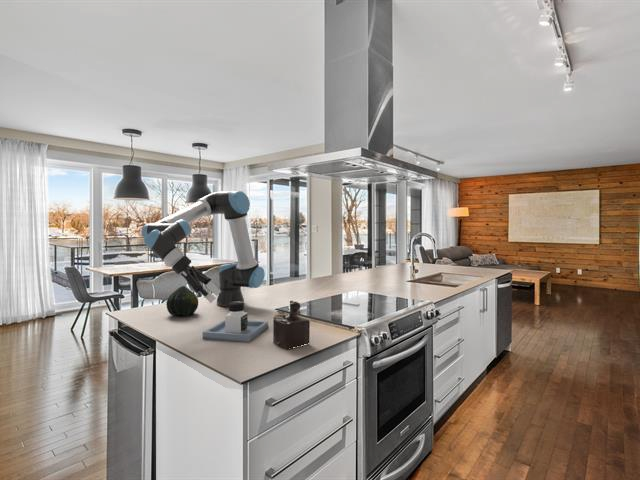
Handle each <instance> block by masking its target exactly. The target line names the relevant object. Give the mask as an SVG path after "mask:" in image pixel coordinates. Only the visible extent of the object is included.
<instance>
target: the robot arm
mask: <svg viewBox="0 0 640 480" xmlns="http://www.w3.org/2000/svg"><path fill="white" fill-rule="evenodd" d="M250 202H251V201H250V199H249V197H248V195H247V194H246V193H245V192H243V191H241V190H224V191H223V190H222V191H221V190H220V191H215V192H212V193H209V194H208V195H205V196H203V197H201V198H198V199H197V200H196V201H195V203H194V204H191V205H190V206H187V207H185V208H184V209H183V208H182V209H181V210H179V211H177V212H175V213H173V214H171V215H169V216H167V217H164V218H163V219H160V220H159V221H155V222H153V223H152V222H151V223H146V224H144V225H143V226H142V228H141V232H140V233H141V236H142V238H143V243H144V244H145V246H146V247H147V248H148V249H149V250H150V251H151V252H152V253H154V254H155V255H156V256H157V257H158V258H160V259H161V260H162V261H163V262H164V265H167V266H168V267H170V268H171V270H173V272H175V274H177V275H181V276H182V277H183V278H184V280H185V281H186V282H187V283H188V284H189V285H190V287H191V288H192V290H194V292H195V294H198V293H199V294H200V295H201V296H203V297H204V298H205V299H206V300H207V301H208V302H209V303H210V304H212V303H213V302H214V301H215V300H216V306H218V307H223V308H227V307H228V308H229V304H230V303H231V302H242V303H244V304H245V298H244V295H243V293H242V288H250V289H256V288H259V287H260V286H261V285H263V283H264V281H265V274H266V273H265V270H264V268H263V267H262V266H259V262H258V260H256V259H255V258H254V251H253V248H252V243H251V238H250V233H249V229H248V225H247V221H246V218H247V216H248V212H249V210H250V207H251V203H250ZM218 214H219V215H223V216H224V219H225V221H227V222H228V224H229V228H230V232H231V237H232V240H233V241H232V242H233V245H234V249H235V254H236V258H237V262H235V263H226V264H221V265H220V266H219V271H218V273H219V275H218V276H219V277H218V278H219V280H218V281H219V288H218V287H217V286H216V285H215V284H214V283H213V282H212V278H211V277H208V276H207V275H205V274H204V273H203V272H201V271H200V270H198V269H197V267H195V266H194V265H191V266H190V264H192V260H191V259H190V258H189V257H188V256H187V255H185V253H184V252H182V251H181V249H180V248H178V247H177V246H176V245H177V244H178V243H180V242H182V241H183V240H184V239H186V238H187V236H189V235H190V234H191V233H192V227H191V225H190V224H192V223H194V222H197V221H198V220H200V219H201V218H203V217H205V218H207V217H209V216H211V215H218ZM202 284H203V285H205V286H203V285H202Z"/></svg>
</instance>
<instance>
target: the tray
mask: <svg viewBox="0 0 640 480" xmlns="http://www.w3.org/2000/svg"><path fill="white" fill-rule="evenodd" d="M268 328H269V321H257V320H248V329H246V330H245V331H244V332H242V333H226V332H225V319H224V320H223V321H220V322H218V323H217V324H215V325H213V326H210V327H209V328H208V329H206V330H204V331H202V339H205V340H217V341H219V340H220V341H231V342H232V341H233V342H244V343H246V342H247V343H250V342H252V341H253V340H254V339H256V338H257V337H258V336H260V335H261V334H262V333H264V331H265V332H266V330H267V329H268Z"/></svg>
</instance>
